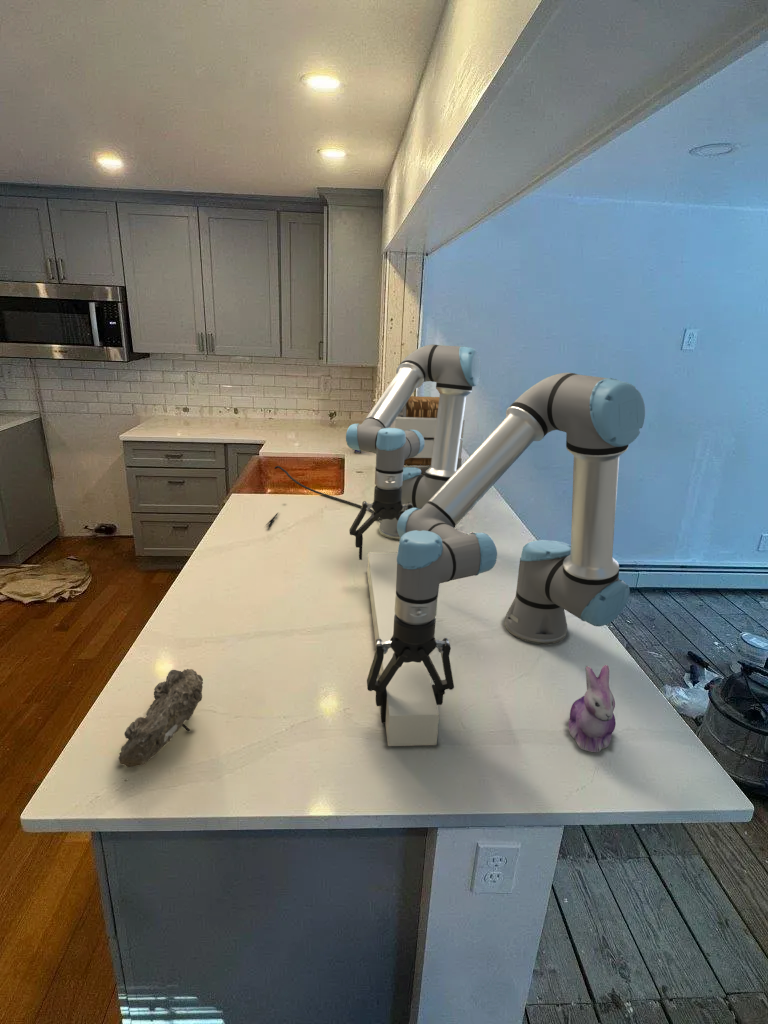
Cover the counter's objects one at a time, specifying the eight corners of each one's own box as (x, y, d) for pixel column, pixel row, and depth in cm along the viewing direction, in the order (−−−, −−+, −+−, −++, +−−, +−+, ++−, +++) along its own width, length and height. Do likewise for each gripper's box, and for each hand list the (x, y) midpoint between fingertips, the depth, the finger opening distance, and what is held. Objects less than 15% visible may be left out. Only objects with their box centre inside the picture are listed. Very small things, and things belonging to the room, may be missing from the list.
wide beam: (367, 572, 170) (368, 552, 167) (396, 573, 170) (398, 552, 168) (387, 746, 103) (389, 715, 101) (436, 745, 104) (439, 714, 101)
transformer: (382, 463, 289) (386, 382, 275) (445, 464, 293) (451, 384, 279) (390, 482, 257) (394, 392, 243) (460, 483, 261) (468, 394, 247)
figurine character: (364, 456, 305) (364, 447, 319) (364, 443, 302) (364, 434, 315) (351, 456, 305) (352, 446, 318) (351, 443, 302) (352, 434, 315)
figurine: (594, 762, 101) (608, 692, 96) (553, 726, 109) (565, 660, 104) (630, 746, 105) (646, 678, 100) (588, 712, 114) (601, 648, 109)
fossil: (153, 670, 114) (204, 637, 109) (187, 701, 117) (238, 670, 112) (92, 760, 94) (152, 726, 89) (135, 795, 97) (195, 763, 92)
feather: (285, 507, 224) (287, 503, 224) (267, 531, 198) (270, 526, 197) (281, 504, 224) (284, 500, 223) (263, 528, 197) (265, 524, 197)
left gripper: (342, 488, 149) (340, 562, 156) (436, 491, 151) (429, 564, 158) (342, 481, 156) (340, 552, 163) (431, 483, 158) (425, 553, 165)
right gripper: (355, 626, 97) (352, 732, 105) (479, 626, 99) (467, 730, 107) (354, 605, 105) (351, 705, 112) (469, 605, 106) (459, 703, 114)
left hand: (384, 558), depth 160 cm, fingers open, 13 cm apart
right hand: (407, 717), depth 110 cm, fingers closed on wide beam, 9 cm apart
